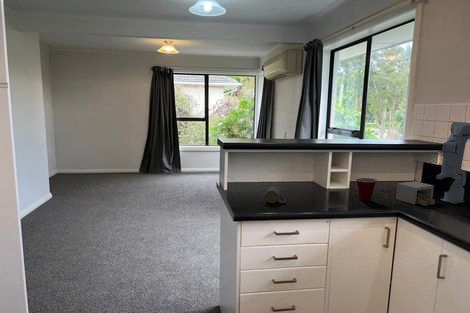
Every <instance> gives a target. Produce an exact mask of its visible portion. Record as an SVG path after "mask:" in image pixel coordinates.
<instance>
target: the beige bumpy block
mask: <svg viewBox="0 0 470 313" xmlns="http://www.w3.org/2000/svg"><path fill="white" fill-rule="evenodd" d="M427 197H428V193H427V192H422V191H419V190H418V191H417V195H416V204H419V205H421V206H431V205H435V204H436V200H435V199H433V198H432V199H429V198H427Z"/></svg>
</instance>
